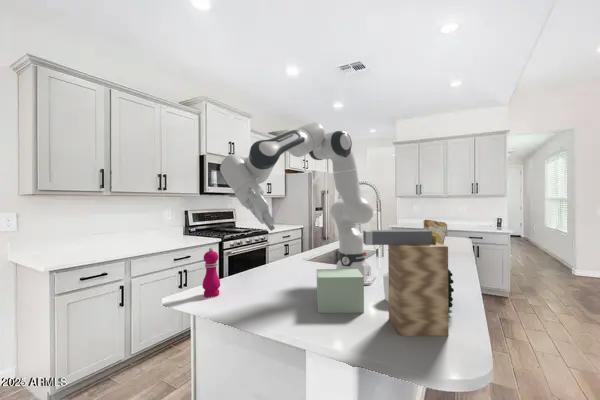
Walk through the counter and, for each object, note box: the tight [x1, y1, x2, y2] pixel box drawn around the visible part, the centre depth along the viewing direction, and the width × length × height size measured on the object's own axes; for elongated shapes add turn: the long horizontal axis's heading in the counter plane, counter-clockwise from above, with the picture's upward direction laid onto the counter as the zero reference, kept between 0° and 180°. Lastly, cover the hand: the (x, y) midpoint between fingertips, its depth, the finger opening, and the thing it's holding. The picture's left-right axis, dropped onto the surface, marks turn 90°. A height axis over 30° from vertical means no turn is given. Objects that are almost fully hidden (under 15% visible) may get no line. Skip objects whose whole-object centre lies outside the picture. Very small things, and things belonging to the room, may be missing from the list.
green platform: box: [316, 268, 365, 314], centre depth 113 cm, size 16×12×12 cm
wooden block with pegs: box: [387, 235, 449, 337], centre depth 95 cm, size 14×12×28 cm
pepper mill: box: [201, 247, 221, 298], centre depth 128 cm, size 7×7×20 cm
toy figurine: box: [448, 268, 455, 308], centre depth 117 cm, size 9×19×25 cm
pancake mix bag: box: [422, 219, 448, 245], centre depth 155 cm, size 7×19×28 cm, turn 4°
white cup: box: [382, 272, 389, 303], centre depth 119 cm, size 8×8×10 cm
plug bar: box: [362, 229, 432, 246], centre depth 95 cm, size 20×4×4 cm, turn 89°
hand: (272, 227), depth 105 cm, fingers open, 8 cm apart
